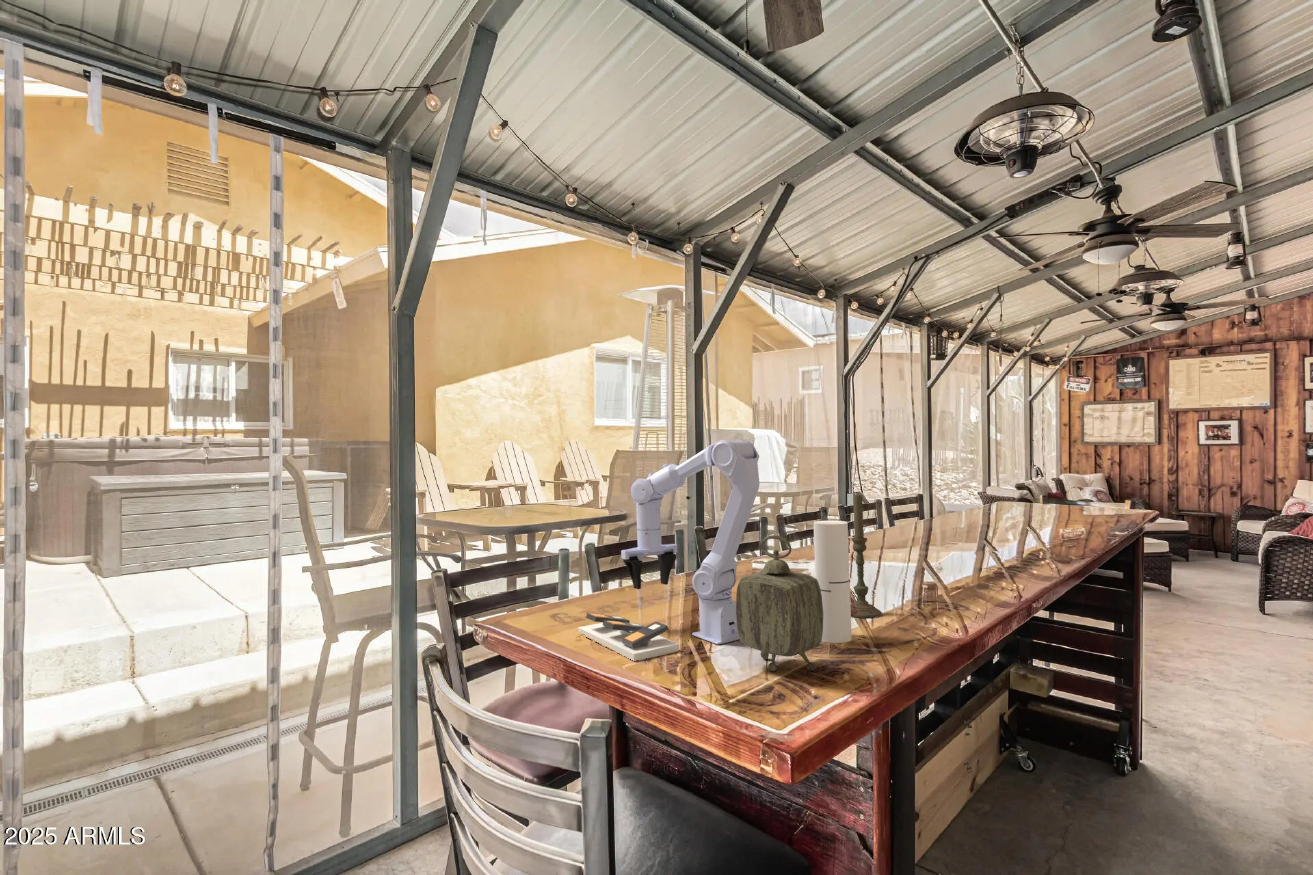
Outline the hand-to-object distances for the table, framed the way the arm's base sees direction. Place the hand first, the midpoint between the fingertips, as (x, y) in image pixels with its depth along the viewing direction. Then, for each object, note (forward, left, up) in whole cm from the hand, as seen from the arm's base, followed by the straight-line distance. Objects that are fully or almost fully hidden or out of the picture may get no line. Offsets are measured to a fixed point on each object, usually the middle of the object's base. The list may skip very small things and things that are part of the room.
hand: (651, 586), depth 156 cm
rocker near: (-15, +12, -6) cm, 20 cm away
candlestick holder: (-23, -46, -10) cm, 53 cm away
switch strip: (-7, +12, -9) cm, 17 cm away
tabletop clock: (-40, -2, -10) cm, 42 cm away
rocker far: (+1, +12, -6) cm, 13 cm away
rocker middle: (-7, +12, -6) cm, 15 cm away
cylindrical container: (-33, -25, -10) cm, 43 cm away
